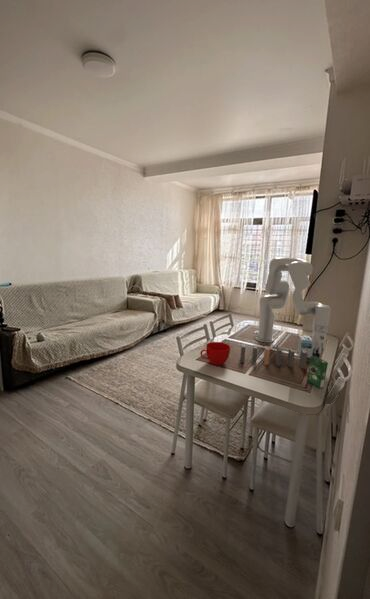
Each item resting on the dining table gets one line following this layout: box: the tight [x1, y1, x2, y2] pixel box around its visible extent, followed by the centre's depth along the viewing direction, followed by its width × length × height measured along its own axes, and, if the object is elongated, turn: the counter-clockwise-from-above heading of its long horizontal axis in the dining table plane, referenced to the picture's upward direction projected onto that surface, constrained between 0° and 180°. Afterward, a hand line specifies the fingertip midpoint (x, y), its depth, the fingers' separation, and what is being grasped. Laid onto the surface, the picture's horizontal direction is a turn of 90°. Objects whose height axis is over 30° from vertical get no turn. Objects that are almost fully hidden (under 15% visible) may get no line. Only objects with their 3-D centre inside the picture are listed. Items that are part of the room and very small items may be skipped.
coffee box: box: [306, 356, 329, 389], centre depth 134 cm, size 8×3×13 cm, turn 22°
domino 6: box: [298, 350, 308, 370], centre depth 154 cm, size 2×5×9 cm, turn 171°
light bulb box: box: [296, 334, 313, 359], centre depth 172 cm, size 11×7×11 cm, turn 168°
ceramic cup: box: [199, 341, 231, 367], centre depth 153 cm, size 13×17×10 cm
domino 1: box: [239, 343, 247, 363], centre depth 159 cm, size 2×5×9 cm, turn 171°
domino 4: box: [274, 346, 283, 367], centre depth 156 cm, size 2×5×9 cm, turn 171°
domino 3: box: [263, 345, 271, 366], centre depth 157 cm, size 2×5×9 cm, turn 172°
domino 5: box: [286, 348, 296, 368], centre depth 155 cm, size 2×5×9 cm, turn 171°
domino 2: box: [251, 344, 258, 365], centre depth 158 cm, size 2×5×9 cm, turn 171°
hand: (315, 360), depth 153 cm, fingers closed
